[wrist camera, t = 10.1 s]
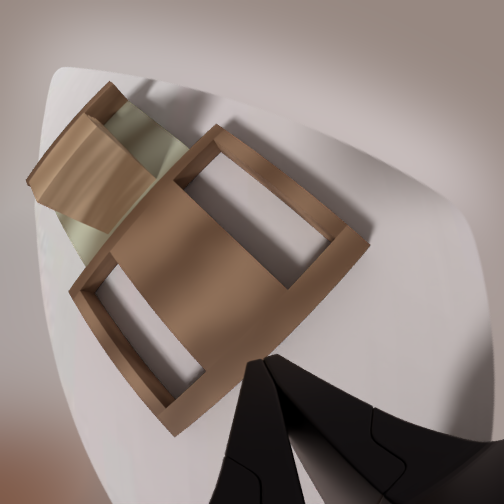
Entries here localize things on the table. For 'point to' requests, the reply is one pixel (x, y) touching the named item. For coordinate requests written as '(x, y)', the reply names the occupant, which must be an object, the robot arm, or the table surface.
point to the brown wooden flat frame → (196, 263)
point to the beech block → (90, 176)
